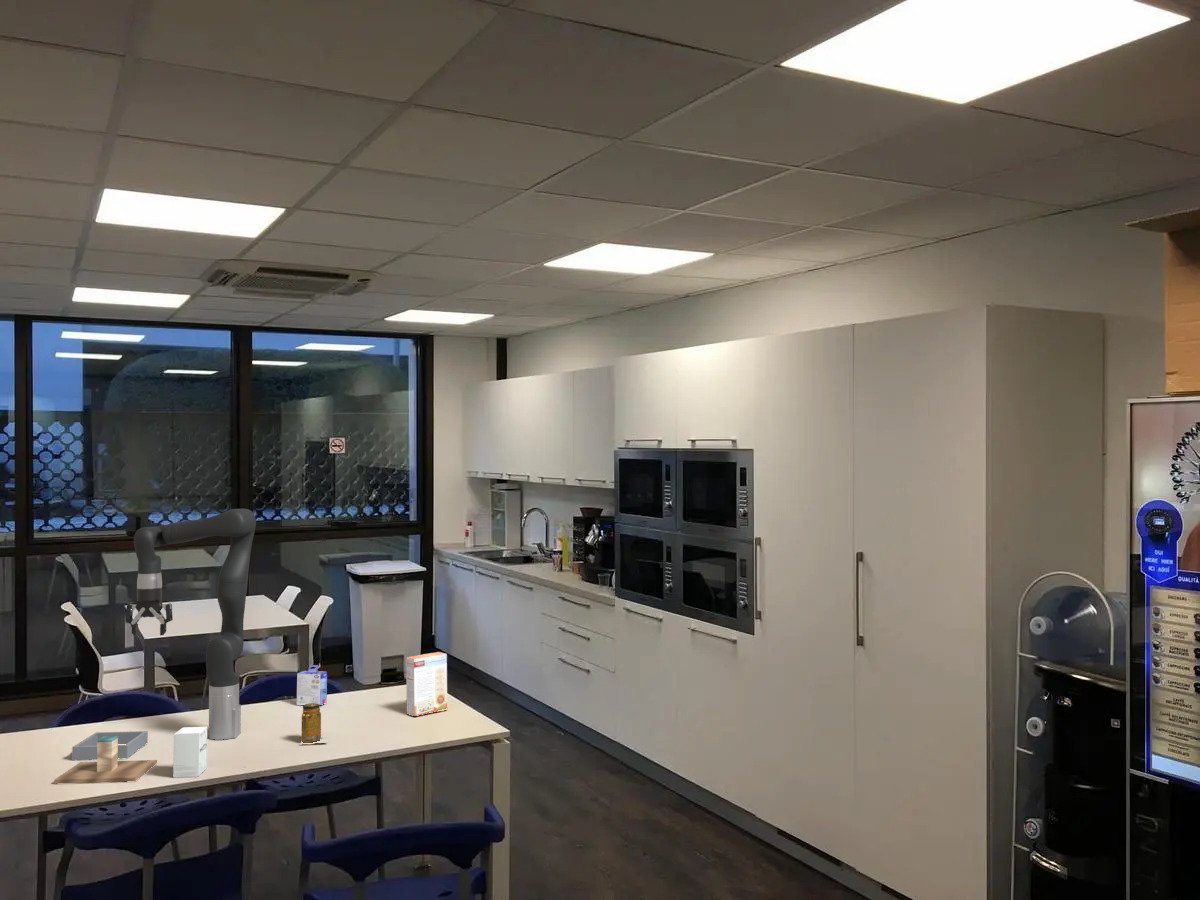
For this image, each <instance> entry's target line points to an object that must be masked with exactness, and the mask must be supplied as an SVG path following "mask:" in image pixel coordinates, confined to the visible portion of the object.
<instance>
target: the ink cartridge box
mask: <svg viewBox="0 0 1200 900" xmlns="http://www.w3.org/2000/svg"><path fill="white" fill-rule="evenodd" d="M318 669H319V665H318V664H309V666H308V670H301V671H300V672H297V674H296V676H297V677H296V706H301V705H305V704H309V703H317V704H319V705H322V704H324V703H327V702H328V699H327V696H328V695H327V693H328V692H327V691H328V688H327V686H328V671H323V670H321V671H320V670H318ZM327 704H328V703H327ZM322 706H323V705H322Z"/></svg>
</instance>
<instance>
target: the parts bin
mask: <svg viewBox="0 0 1200 900" xmlns="http://www.w3.org/2000/svg"><path fill="white" fill-rule="evenodd" d="M148 732H149V731H148V730H139V731H137V730H134V731H102V732H100V731H99V732H98V731H96V732H94V733H93V734H91V735H89V736H88V737H86V738H84V739H83V740H81V741H80V742H78V743H77V744H75V745H74V746H72V748H71V750H72V752H71V754H72V755H71V757H72V758H71V761H92V759H97V740H99V739H100V738H102V737H106V736H118V744H126V745H118V758H128V757H129V756H130V755H132V754H133V753H134V752H136V751H137V750H138V749H140V748H141V747H142V746H144V745H145V744H146V743H148V741H149V740H148V736H149V735H148V734H149V733H148ZM146 745H147V744H146ZM146 745H145V746H146ZM145 746H144V747H145ZM142 748H143V747H142ZM142 748H141V749H142ZM141 749H140V750H141ZM138 751H139V750H138ZM138 751H137V752H138ZM137 752H136V753H137ZM134 754H135V753H134ZM134 754H133V755H134ZM133 755H132V756H133ZM130 757H131V756H130ZM130 757H129V758H130ZM129 758H128V759H129Z"/></svg>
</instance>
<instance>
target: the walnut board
mask: <svg viewBox="0 0 1200 900" xmlns="http://www.w3.org/2000/svg"><path fill="white" fill-rule="evenodd" d="M156 763H157V764H158V760H157V759H145V760H144V759H143V760H137V759H136V760H117V768H116V769H114V770H113V771H111V772H97V761H80V762H78V763H77V764H75V765H74V766H73V767H70V768H69V769H68V770H66V771H65V772H64V773H62V774H60V775H58V776H57V777H56V778H55V779H54V780H53V784H54V783H77V784H100V783H101V782H110V783H125V782H124V781H136V780H137V779H138V778H139V779H141V778H142V777H143V776H144V775H145V774H147V773H148V772H149V771H150V770H151V769H150V768H151V767H153V766H154V765H155V764H156ZM157 764H156V765H157ZM156 765H155V766H156ZM155 766H154V767H155ZM154 767H153V768H154ZM149 769H150V770H149ZM148 770H149V771H148ZM147 771H148V772H147ZM146 772H147V773H146ZM144 773H145V774H144ZM143 774H144V775H143ZM142 775H143V776H142ZM141 776H142V777H141ZM140 777H141V778H140ZM139 779H138V780H139ZM138 780H137V781H138ZM137 781H136V782H137ZM101 784H102V783H101Z"/></svg>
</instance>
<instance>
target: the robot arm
mask: <svg viewBox="0 0 1200 900" xmlns="http://www.w3.org/2000/svg"><path fill="white" fill-rule="evenodd" d="M256 526H257V519H256V516H255V514H254V512H253V511H252V510H250V509H248V508H243V507H242V508H232V509H231V508H230V509H229V510H227V511H224V512H221V513H219V514H216V515H213V516H209V517H205V518H199V519H192V520H191V519H189V520H182V521H177V522H172V523H168V524H164V525H157V526H147V527H145V526H144V527H141V528H139V529H137V530H136V532H135V534H134V536H133V545H134V550H135V556H136V558H137V561H138V562H137V580H136V604H133V603H130V604H127V605H126V612H125V623H127V624H130V625H131V634H132V635H133V637H136V636H138V635H139V621H140V620H141V619H142V618H148V617H149V618H156V620H158V621H159V622H160V623H159V624H160V625H159V635H160V636H164V635H165V634H166V633H167V623H170V622H172V621H173V605H172V603H171V602H170V603H165V604H163V601H162V599H163V593H162V591H163V579H162V578H163V577H162V558H161V556H159V555H157V554H156V552H155V548H159V547H163V546H168V545H175V544H181V543H187V542H193V541H197V540H200V539H204V538H208V537H209V538H210V537H211V538H212V537H230V541H229V542H230V543H229V544H230V545H229V548H228V549H229V550H228V553H227V556H226V558H225V560H224V562H223V564H222V566H221V569H220V571H219V574H218V581H217V587H216V588H217V589H216V597H217V602H218V606H219V609H220V612H221V627H220V628H221V629H220V634H219V636H216V637H214V638H212V639H210V641H209V642H208V644H207V645H206V650H205V668H206V676H207V679H208V739H210V740H213V739H215V740H216V741H220V740H221V741H222V740H223V739H224V740H228V739H229V740H230V739H237V737H238V736H239V735H240V734H241V731H242V729H241V728H242V717H241V715H242V711H241V710H242V706H241V704H240V675H239V674H238V673H237V672H235V669H234V661H235V660H237V659H238V658H240V656H241V655H242V653H243V650H244V619H245V618H244V617H245V609H246V600H247V599H246V598H247V592H248V581H249V571H250V570H249V569H250V561H251V552H252V546H253V540H254V535H255V530H256ZM162 609H163V610H164V611H165V615H164V613H163V612H162ZM135 610H137V612H138V613H137V614H136V615H135V616H134V617H133V613H134V612H133V611H135Z"/></svg>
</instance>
